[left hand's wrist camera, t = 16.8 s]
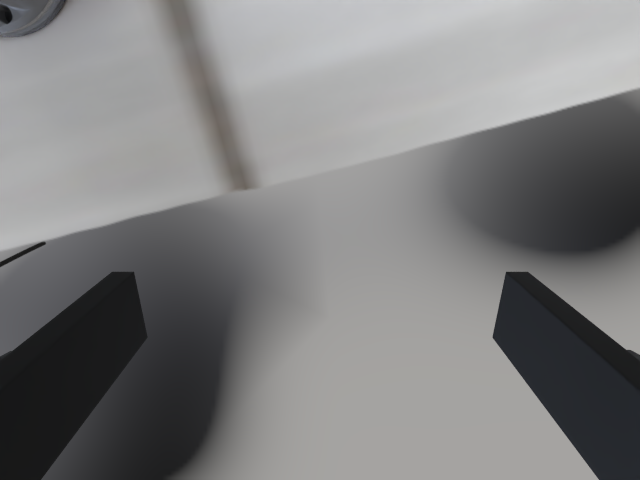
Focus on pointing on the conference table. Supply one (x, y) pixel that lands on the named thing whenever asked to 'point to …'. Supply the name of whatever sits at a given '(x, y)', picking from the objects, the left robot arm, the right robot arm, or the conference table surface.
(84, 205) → the conference table surface
